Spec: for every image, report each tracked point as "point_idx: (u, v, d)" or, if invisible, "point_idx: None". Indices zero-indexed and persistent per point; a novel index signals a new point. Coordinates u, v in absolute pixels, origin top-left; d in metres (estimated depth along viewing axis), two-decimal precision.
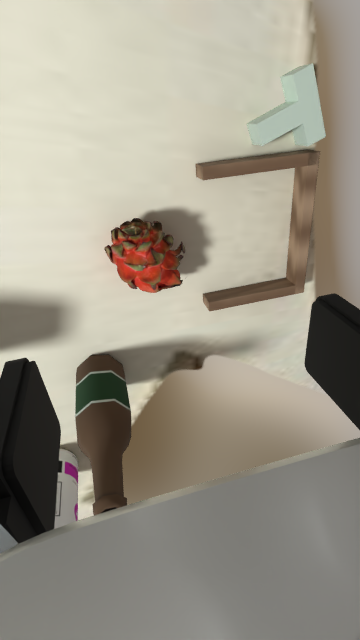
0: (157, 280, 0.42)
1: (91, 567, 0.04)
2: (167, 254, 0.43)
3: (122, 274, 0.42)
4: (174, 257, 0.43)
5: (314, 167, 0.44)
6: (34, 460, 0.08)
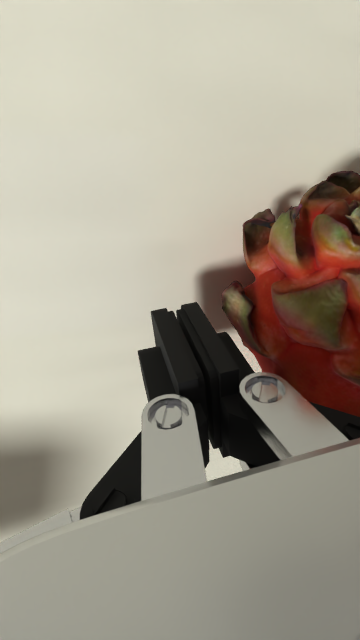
0: None
1: (91, 567, 0.04)
2: None
3: None
4: None
5: None
6: None
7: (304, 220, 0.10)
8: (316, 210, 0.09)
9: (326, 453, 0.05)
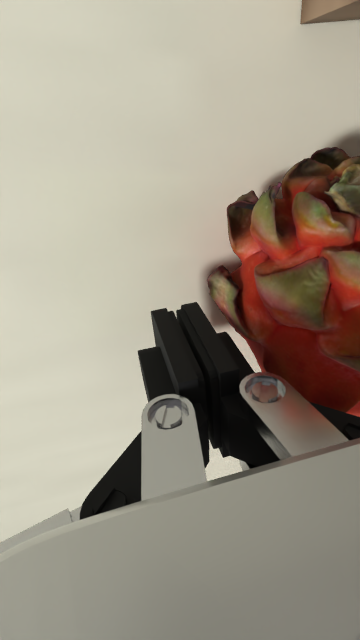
0: None
1: (91, 567, 0.04)
2: None
3: (291, 384, 0.10)
4: None
5: None
6: None
7: (286, 200, 0.09)
8: (297, 189, 0.09)
9: (326, 453, 0.05)
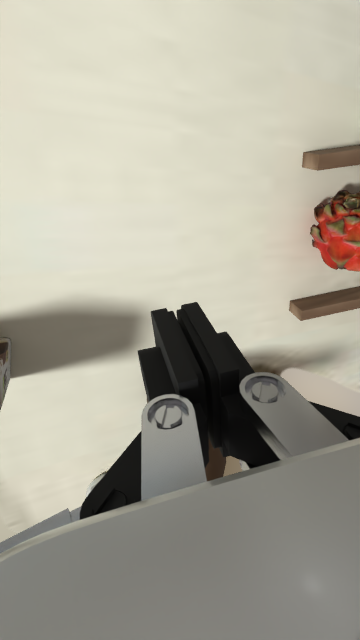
0: None
1: (91, 567, 0.04)
2: None
3: (335, 254, 0.38)
4: None
5: None
6: None
7: (332, 205, 0.38)
8: (335, 202, 0.37)
9: (326, 453, 0.05)
